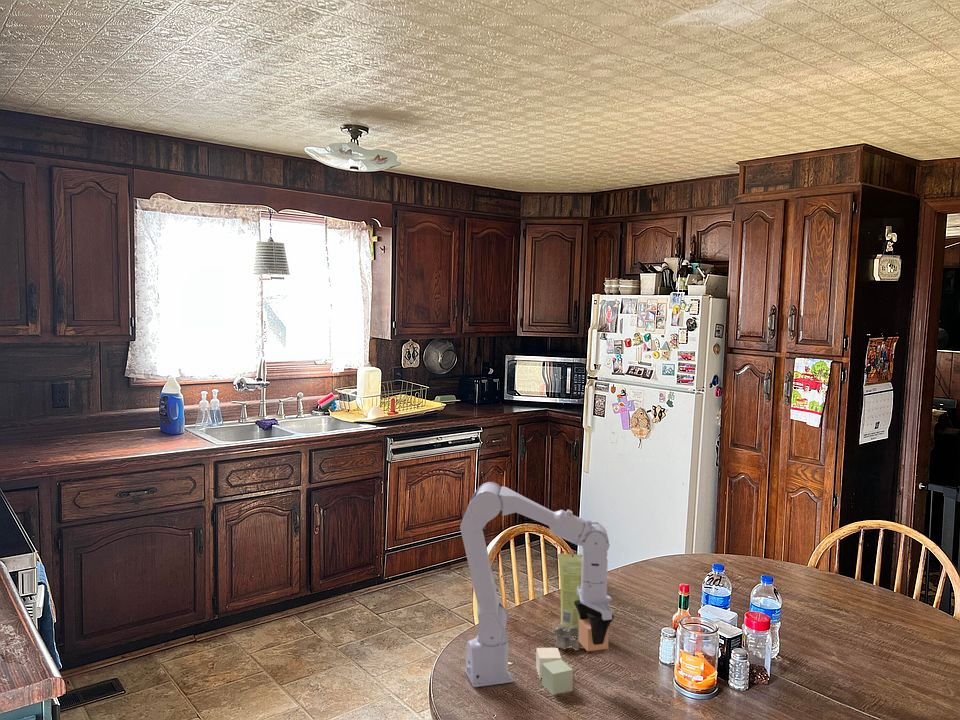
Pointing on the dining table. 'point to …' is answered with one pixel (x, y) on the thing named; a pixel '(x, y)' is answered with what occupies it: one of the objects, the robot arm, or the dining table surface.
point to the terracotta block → (590, 636)
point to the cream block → (546, 657)
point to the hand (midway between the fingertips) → (592, 638)
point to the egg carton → (567, 637)
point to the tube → (569, 587)
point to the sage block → (557, 677)
